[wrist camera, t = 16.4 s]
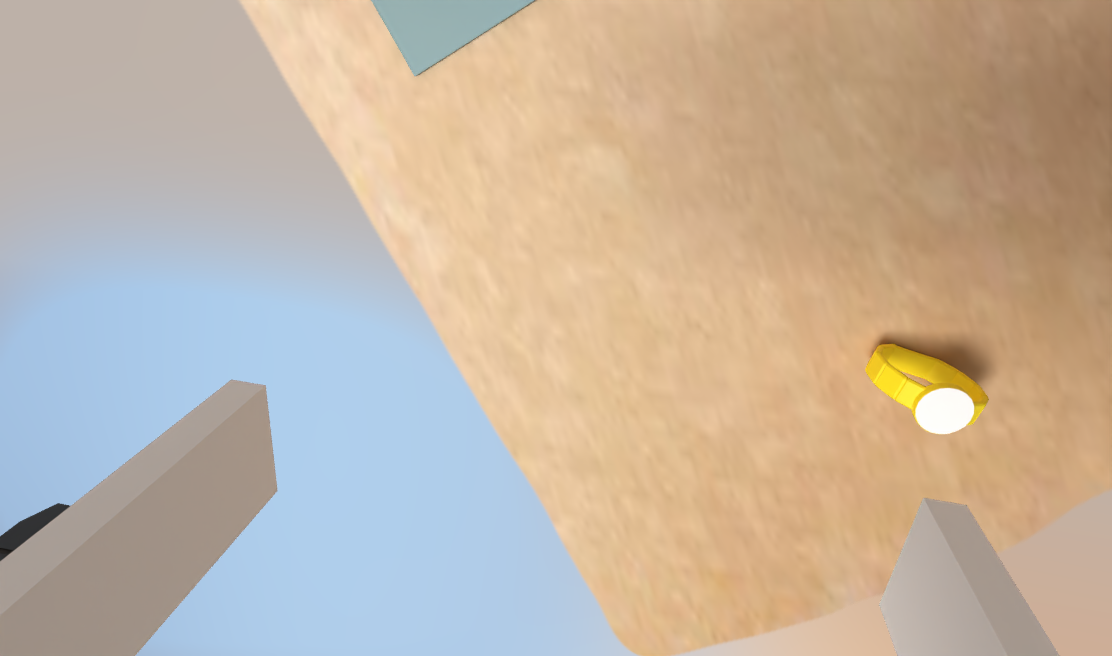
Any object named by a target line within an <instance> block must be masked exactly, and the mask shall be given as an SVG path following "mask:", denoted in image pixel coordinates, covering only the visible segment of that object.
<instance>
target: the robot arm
mask: <svg viewBox="0 0 1112 656" xmlns="http://www.w3.org/2000/svg"><path fill="white" fill-rule="evenodd" d="M276 492H277V483H276V474H275V466H274V456H273V447H272V438H271V429H270V420H269V411H268V402H267V394H266V386H265V385H260V384H254V383H248V382H242V381H237V380H230V381H229V382H228V383H227V384H225V385H224V386H223V387H221V388H220V389H219V390H218V391H216V392H215V393H214V394H213V395H212V396H210V397H209V398H207V399H206V400H205V401H204V402H202V403H201V404H200V405H199V406H197V407H196V408H195V409H194V410H192V411H191V412H190V413H188V414H187V415H186V416H185V417H183V418H182V419H181V420H179V421H178V422H177V423H176V424H174V425H173V426H172V427H171V428H169V429H168V430H167V431H165V432H164V433H163V434H162V435H160V436H159V437H158V438H157V439H155V440H154V441H153V442H151V443H150V444H149V445H148V446H146V447H145V448H144V449H143V450H141V451H140V452H139V453H137V454H136V455H135V456H134V457H132V458H131V459H130V460H129V461H127V462H126V463H125V464H123V465H122V466H121V467H120V468H118V469H117V470H116V471H115V472H113V473H112V474H111V475H110V476H108V477H107V478H106V479H104V480H103V481H102V482H101V483H99V484H98V485H97V486H96V487H94V488H93V489H92V490H90V491H89V492H88V493H87V494H85V495H84V496H83V497H81V498H80V499H79V500H78V501H76V502H75V503H74V504H73V505H71V506H69V505H64V504H59V503H58V504H56V505H54V506H52V507H49V508H48V509H45V510H43V511H41V512H39V513H37V514H35V515H33V516H31V517H29V518H26V519H24V520H22V521H20V522H19V523H18V524H16V525H15V526H13V527H12V528H11V529H9V530H8V531H7V532H5V533H4V534H3V535H1V536H0V656H135V655H136V654H137V652H139V650H140V649H141V648H142V647H143V646H144V645H145V644H146V642H147V641H148V640H149V639H150V638H151V637H152V635H153V634H154V633H155V632H156V631H157V630H158V628H159V627H160V626H161V625H162V624H163V623H164V622H165V620H166V619H167V618H168V617H169V615H170V614H171V613H172V612H173V611H174V610H175V609H176V608H177V606H178V605H179V604H180V603H181V602H182V601H183V599H184V598H185V597H186V596H187V595H188V594H189V592H190V591H191V590H192V589H193V588H194V587H195V586H196V584H197V583H198V582H199V581H200V580H201V578H202V577H203V576H204V575H205V574H206V573H207V572H208V571H209V569H210V568H211V567H212V566H213V565H214V563H215V562H216V561H217V560H218V559H219V558H220V557H221V556H222V554H223V553H224V552H225V551H226V550H227V548H228V547H229V546H230V545H231V544H232V543H233V542H234V540H235V539H236V538H237V537H238V536H239V535H240V534H241V532H242V531H243V530H244V529H245V528H246V527H247V525H248V524H249V523H250V522H251V521H252V519H253V518H254V517H255V516H256V515H257V514H258V513H259V511H260V510H261V509H262V508H263V507H264V506H265V505H266V503H267V502H268V501H269V500H270V499H271V498H272V497H273V495H274V494H275V493H276ZM879 606H880V608H881V611H882V614H883V617H884V620H885V622H886V625H887V628H888V631H889V634H890V636H891V639H892V642H893V645H894V648H895V650H896V653H897V656H1059V654H1058V653H1057V651H1056V649H1055V648H1054V646H1053V644H1052V643H1051V641H1050V640H1049V638H1048V636H1047V635H1046V633H1045V631H1044V630H1043V628H1042V627H1041V625H1040V623H1039V622H1038V620H1037V619H1036V617H1035V615H1034V614H1033V612H1032V610H1031V609H1030V607H1029V605H1028V604H1027V602H1026V601H1025V599H1024V597H1023V596H1022V594H1021V593H1020V591H1019V589H1018V588H1017V586H1016V584H1015V583H1014V581H1013V580H1012V578H1011V576H1010V575H1009V573H1008V571H1007V570H1006V568H1005V567H1004V565H1003V563H1002V562H1001V560H1000V559H999V557H998V555H997V554H996V552H995V550H994V549H993V547H992V546H991V544H990V542H989V541H988V539H987V537H986V536H985V534H984V533H983V531H982V529H981V528H980V526H979V524H978V523H977V521H976V520H975V518H974V516H973V515H972V513H971V512H970V510H969V508H968V507H967V505H963V504H957V503H951V502H945V501H939V500H933V499H928V498H923V500H922V502H921V505H920V507H919V510H918V512H917V514H916V517H915V519H914V522H913V524H912V526H911V529H910V531H909V534H908V536H907V539H906V541H905V543H904V546H903V548H902V551H901V553H900V555H899V558H898V560H897V563H896V565H895V568H894V570H893V572H892V575H891V577H890V580H889V582H888V584H887V587H886V589H885V592H884V594H883V596H882V599H881V602H880V604H879Z"/></svg>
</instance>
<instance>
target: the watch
mask: <svg viewBox="0 0 1112 656" xmlns="http://www.w3.org/2000/svg"><path fill="white" fill-rule="evenodd" d="M865 370H866V373H867V375H868V376H869V378H870V379H871V380H872V382H873V383H874V384H875V385H876V386H877V387H878V388H879V389H881V390H882V391H883V392H884V393H886V394H887V395H888V396H890V397H891V398H892V399H895V401H897V402H899V403H900V404H902V405H904V406H906V407H908V408H910V409H911V410H912V413H913V416H914V418H915V420H916V422H917V423H918V424H919V425H920V426H921V428H923V429H924V430H926V431H928V432H930V433H935V434H949V433H953V432H956V431H958V430H960V429H962V428H963V427H965V426H966V425H971V424H973V423H974V422H975V420H976V419H977V417H978V416H979V415H980V413H981V412H982V410H983V409H984V407H985V406H986V404H987V402H988V400H989V399H988V396H987V395H986V394H985V392H984V391H983V390H982V388H981V387H980V386H979V385H978V384H977V383H976V382H974V381H973V380H972V379H970V378H969V377H968V376H966V375H965V374H964V373H962V372H960V371H959V370H958V369H956V368H954V367H952V366H950V365H948V364H947V363H945V362H943V361H941V360H939V359H936V358H933V357H930V356H927V355H924V354H920V353H917V352H914V351H911V350H908V349H905V348H902V347H899V346H896V344H884V345H879V346H877V348H876V350H875V352H874V353H873V355H872V357H871V358H870V360H869V362H868V364H867V366H866V369H865ZM900 371H902V372H905V373H908V374H911V375H914V376H917V377H920V378H923V379H926V380H927V381H929V382H931V383H932V385H929V386H927V387H925V386H923V385H922V384H920V383H918V382H916V381H914V380H912V379H910V378H909V379H908V377H907V376H906V375H904V374H903V373H902V372H900Z"/></svg>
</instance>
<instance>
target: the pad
mask: <svg viewBox="0 0 1112 656" xmlns="http://www.w3.org/2000/svg"><path fill="white" fill-rule="evenodd" d="M371 1H372V2H373V4H374V6H375V8H376V9H377V11H378V13H379V15H380V16H381V18H382V20H383V22H384V23H385V25H386V27H387V29H388V30H389V32H390V34H391V36H392V37H393V39H394V41H395V43H396V44H397V46H398V48H399V50H400V51H401V53H402V55H403V57H404V58H405V60H406V62H407V64H408V66H409V67H410V69H411V71H412V73H413V74H414V76H417V75H419V74H420V73H422V72H423V71H425V70H427V69H428V68H430V67H431V66H433V65H434V64H436V63H438V62H439V61H441V60H442V59H444V58H446V57H447V56H449V55H450V54H452V53H453V52H455V51H457V50H458V49H460V48H461V47H463V46H464V45H466V44H468V43H469V42H471V41H472V40H474V39H475V38H477V37H479V36H480V35H482V34H483V33H485V32H486V31H488V30H490V29H491V28H493V27H494V26H496V25H497V24H499V23H501V22H502V21H504V20H505V19H507V18H508V17H510V16H512V15H513V14H515V13H516V12H518V11H520V10H521V9H523V8H524V7H526V6H527V5H529V4H531V3H532V2H534V1H535V0H371Z"/></svg>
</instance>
